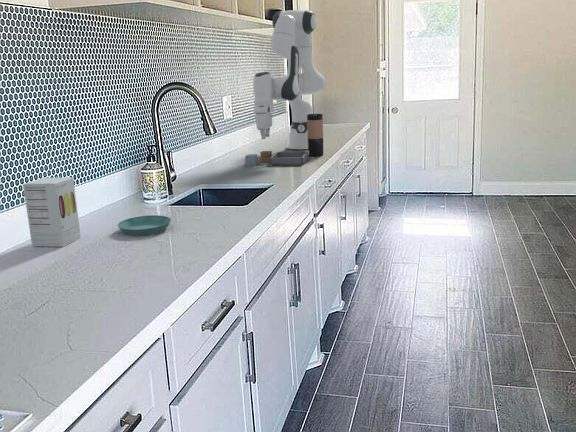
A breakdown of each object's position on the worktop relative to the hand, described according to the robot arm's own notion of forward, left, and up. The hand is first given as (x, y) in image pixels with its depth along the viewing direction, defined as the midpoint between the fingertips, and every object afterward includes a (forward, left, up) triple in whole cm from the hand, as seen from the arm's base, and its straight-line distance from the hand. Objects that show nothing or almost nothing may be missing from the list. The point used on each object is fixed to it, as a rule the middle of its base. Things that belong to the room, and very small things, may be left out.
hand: (265, 138), depth 275 cm
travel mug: (-14, +22, -11) cm, 28 cm away
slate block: (+10, -5, -11) cm, 15 cm away
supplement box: (+132, -31, -11) cm, 136 cm away
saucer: (+120, -11, -11) cm, 121 cm away
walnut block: (0, 0, -11) cm, 11 cm away
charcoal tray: (+5, +12, -11) cm, 17 cm away
